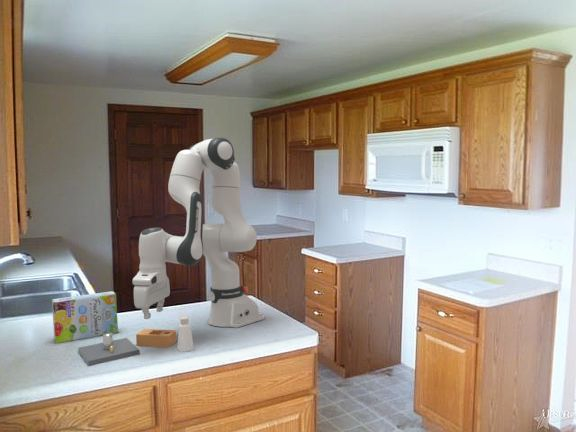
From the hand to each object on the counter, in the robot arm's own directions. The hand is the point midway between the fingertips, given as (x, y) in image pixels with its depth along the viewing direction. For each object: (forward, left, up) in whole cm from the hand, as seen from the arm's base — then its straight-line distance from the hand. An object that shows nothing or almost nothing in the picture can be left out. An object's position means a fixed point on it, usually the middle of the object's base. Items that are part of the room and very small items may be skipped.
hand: (153, 315), depth 168 cm
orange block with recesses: (-1, 0, -10) cm, 10 cm away
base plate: (+15, -1, -10) cm, 19 cm away
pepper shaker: (-7, +11, -11) cm, 17 cm away
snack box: (+17, -23, -11) cm, 31 cm away
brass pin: (+15, +3, -10) cm, 19 cm away
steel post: (+15, -1, -10) cm, 19 cm away
